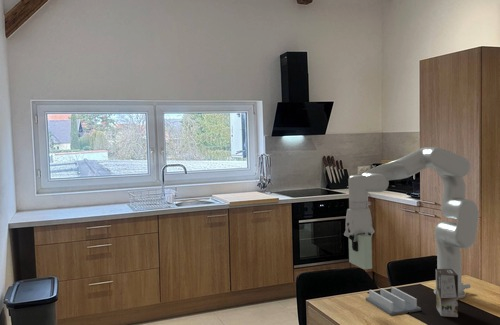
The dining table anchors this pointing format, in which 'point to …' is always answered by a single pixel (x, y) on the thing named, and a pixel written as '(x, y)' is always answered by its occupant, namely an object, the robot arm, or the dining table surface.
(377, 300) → the dish rack
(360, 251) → the upright sage green tile
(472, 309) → the dining table surface
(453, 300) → the coffee box
